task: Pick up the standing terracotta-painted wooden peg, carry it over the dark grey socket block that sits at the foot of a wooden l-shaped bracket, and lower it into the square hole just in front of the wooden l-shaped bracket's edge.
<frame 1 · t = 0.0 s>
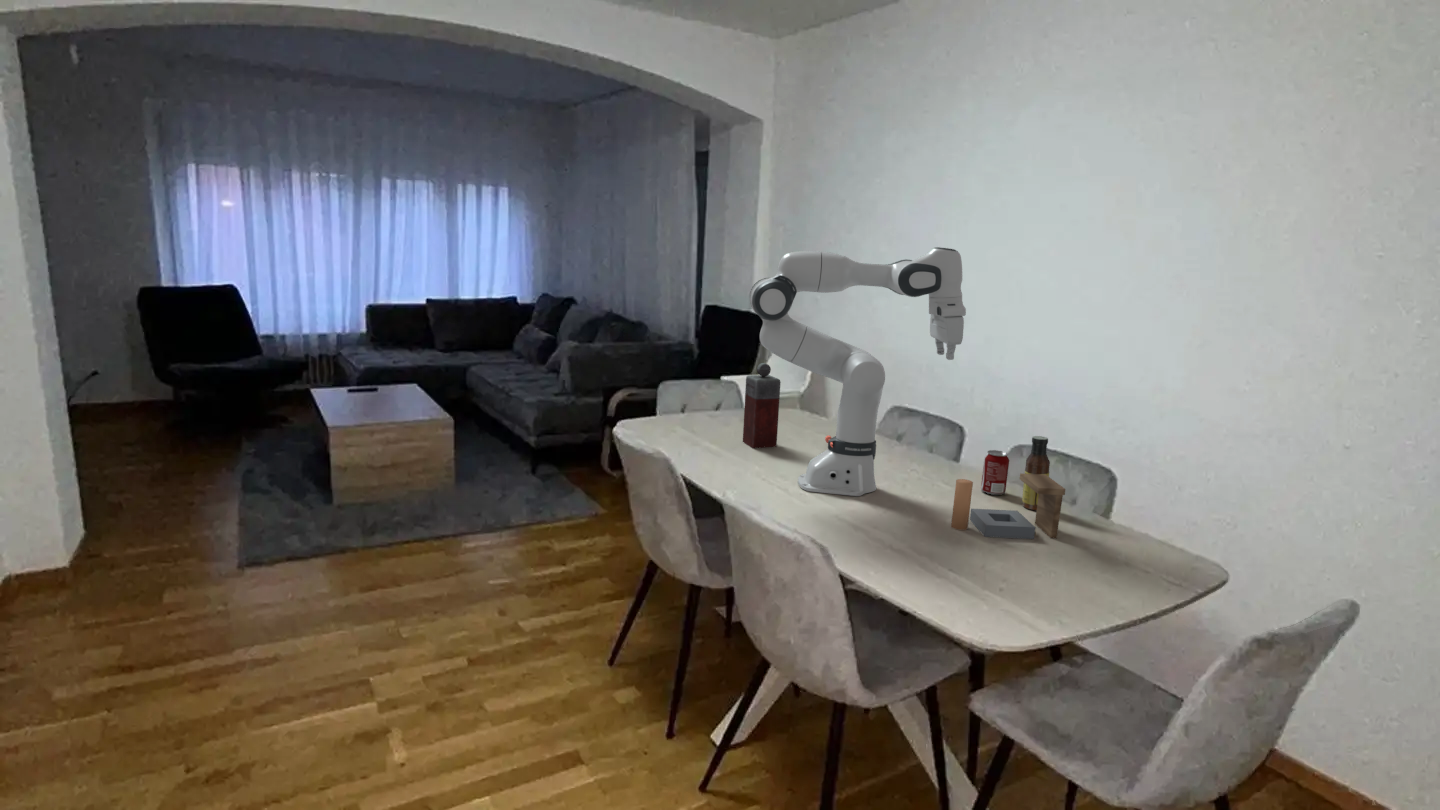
hand: (945, 356, 220), 39 cm above the table, tool pointing down, fingers open, 8 cm apart
red grey knobbed box: (758, 444, 271), on the table
soda can: (992, 493, 228), on the table
peg: (959, 527, 199), on the table
socket: (1000, 528, 199), on the table
sauce bottle: (1032, 508, 216), on the table
wooden l-shaped bracket: (1045, 530, 199), on the table
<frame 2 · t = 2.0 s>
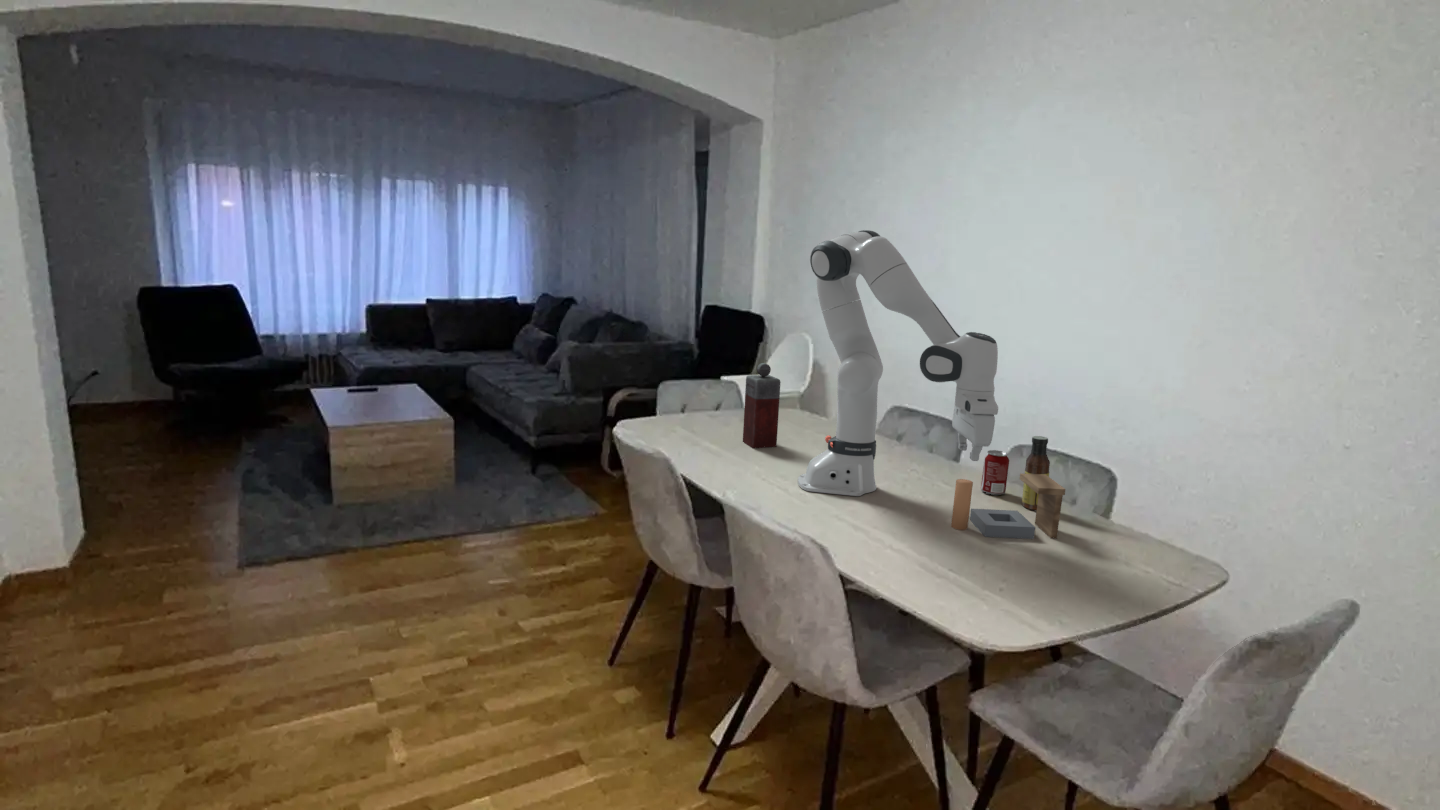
hand: (968, 455, 195), 19 cm above the table, tool pointing down, fingers open, 8 cm apart
nothing on the table moved.
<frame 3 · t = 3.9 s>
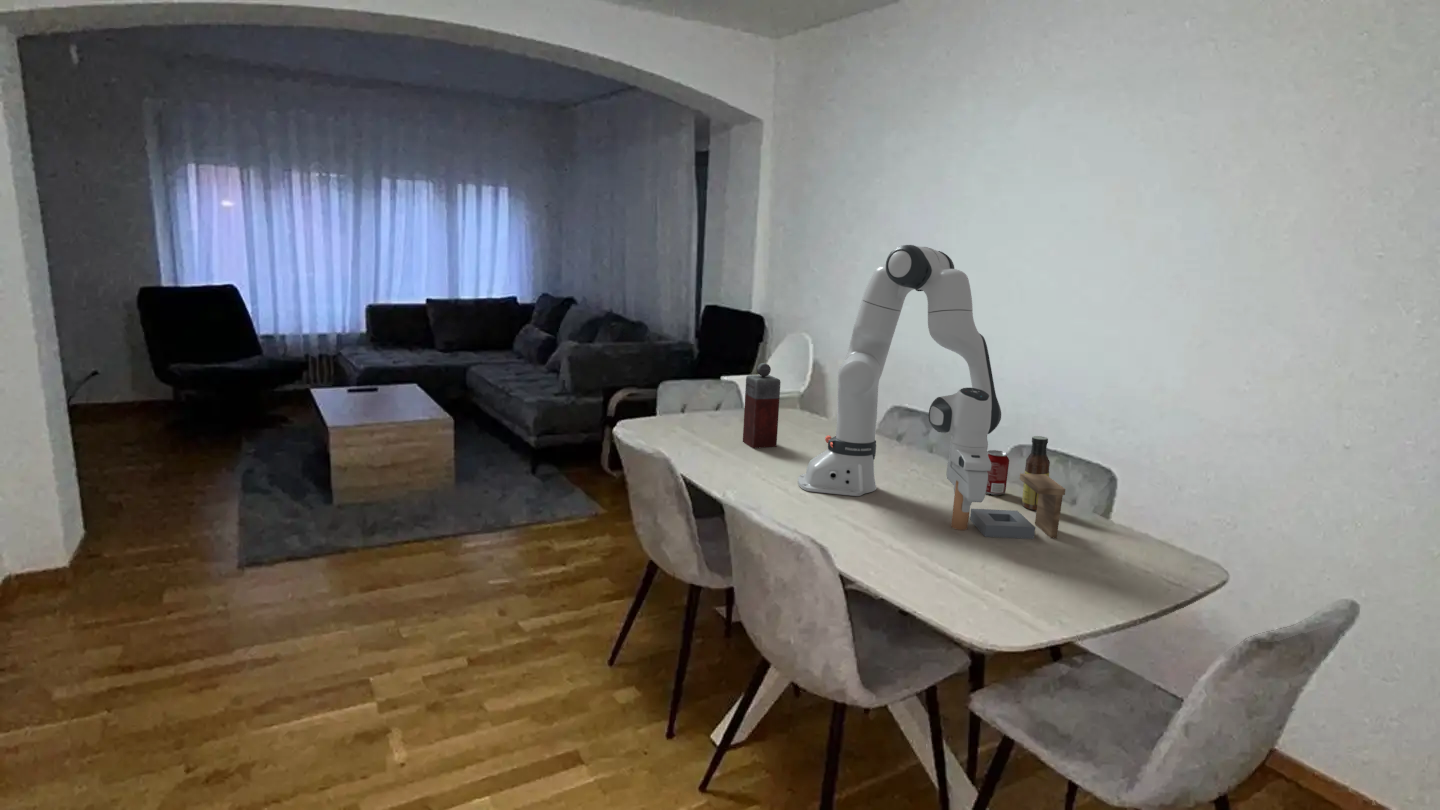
hand: (961, 507, 197), 5 cm above the table, tool pointing down, fingers closed on peg, 4 cm apart
peg: (959, 527, 199), on the table, touching gripper
everything else where it was.
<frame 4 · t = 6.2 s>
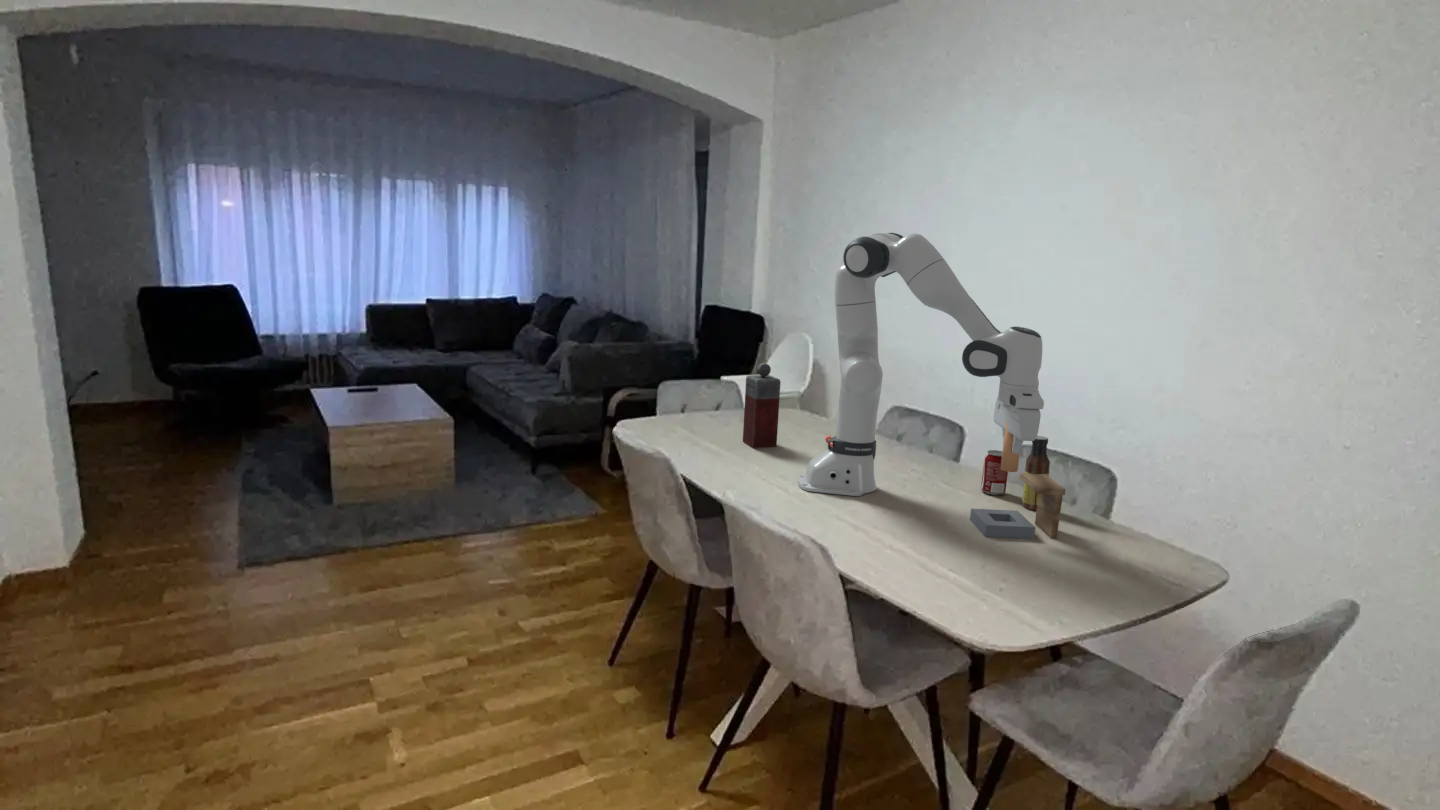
hand: (1011, 449, 194), 21 cm above the table, tool pointing down, fingers closed on peg, 4 cm apart
peg: (1008, 469, 195), point 16 cm above the table, touching gripper
everything else where it was.
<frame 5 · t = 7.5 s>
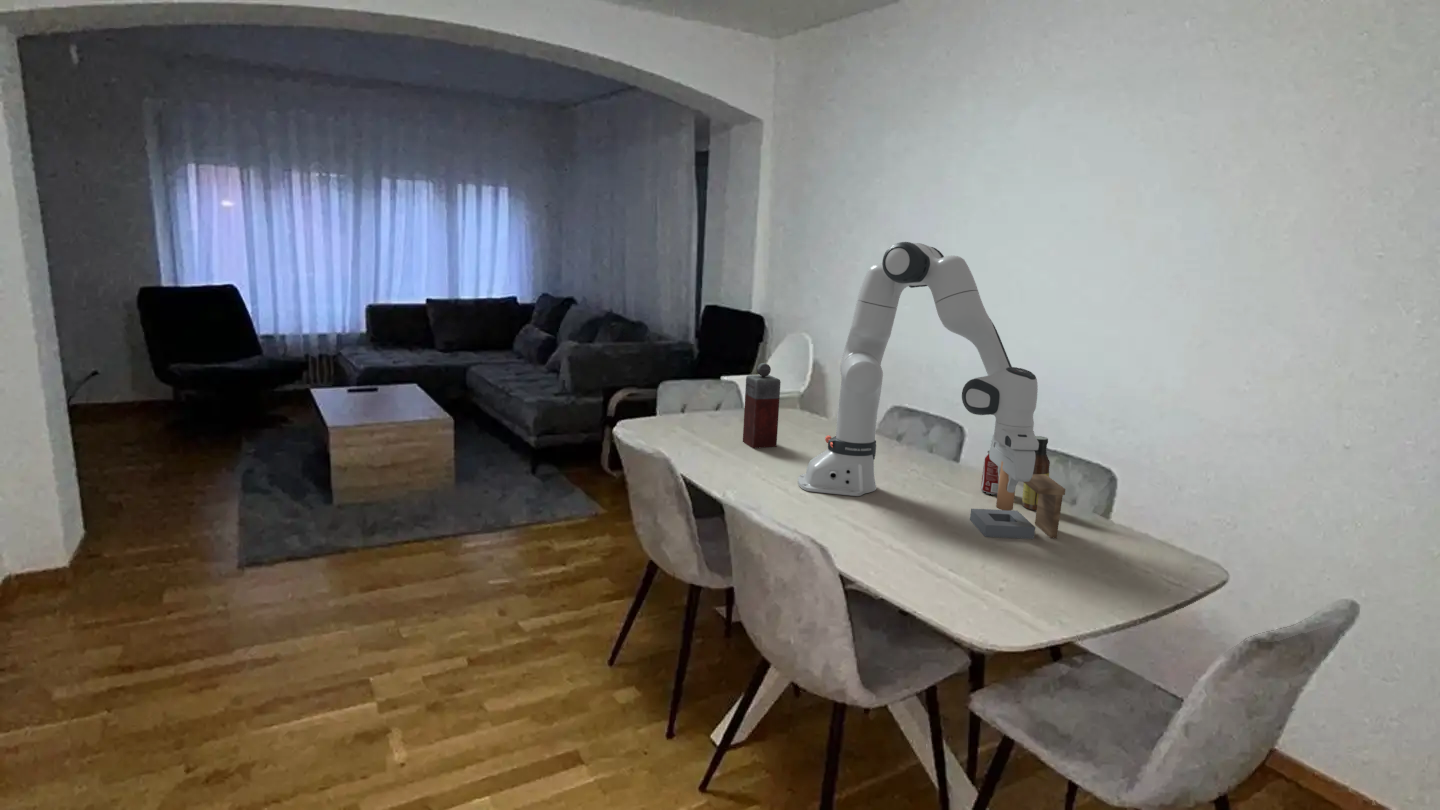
hand: (1006, 488, 196), 11 cm above the table, tool pointing down, fingers closed on peg, 4 cm apart
peg: (1004, 507, 198), point 6 cm above the table, touching gripper
everything else where it was.
when the fingers open (6 cm above the table, at t = 8.7 s): peg stays where it is, resting in socket.
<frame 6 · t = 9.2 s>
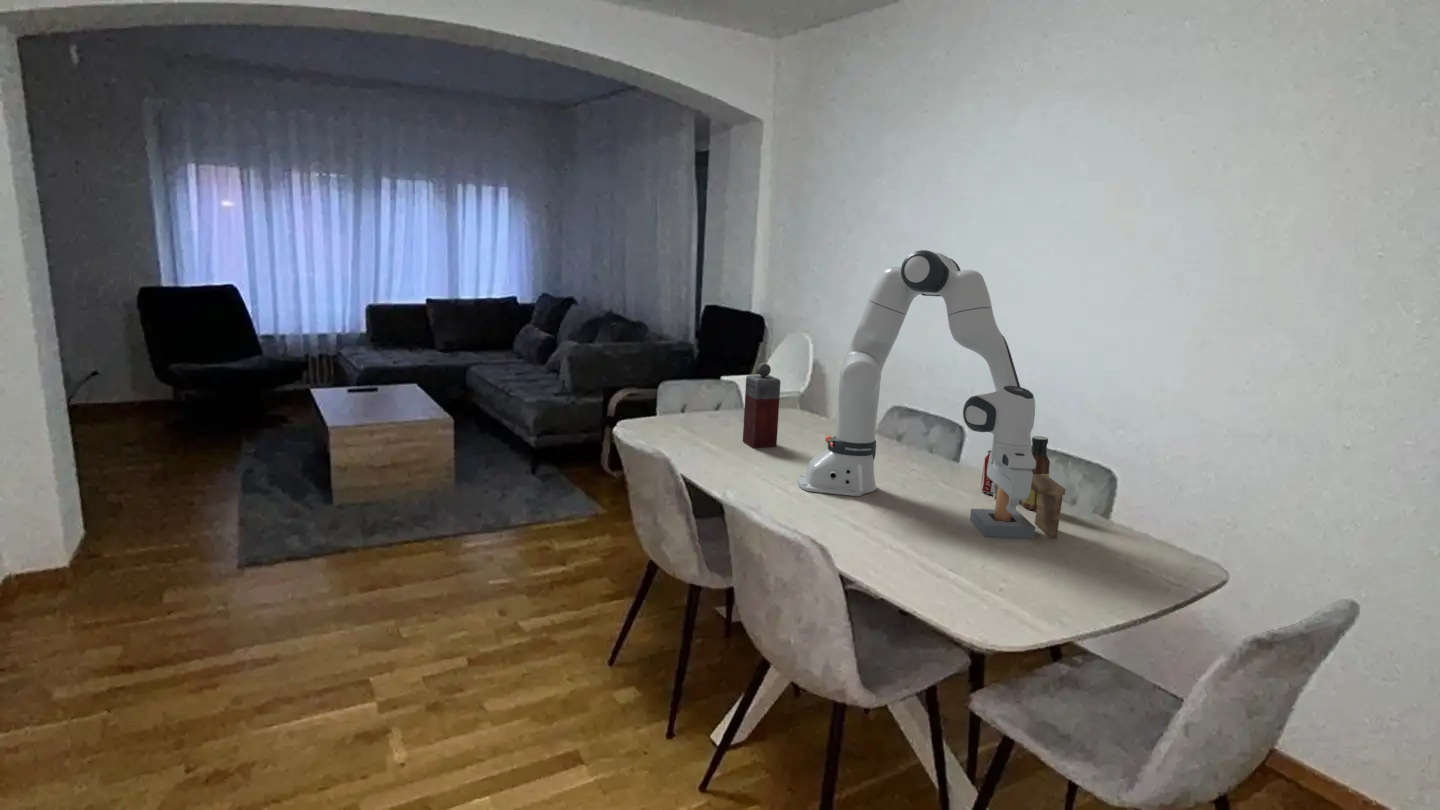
hand: (1003, 505, 197), 6 cm above the table, tool pointing down, fingers open, 8 cm apart
peg: (1001, 528, 199), resting in socket
everything else where it was.
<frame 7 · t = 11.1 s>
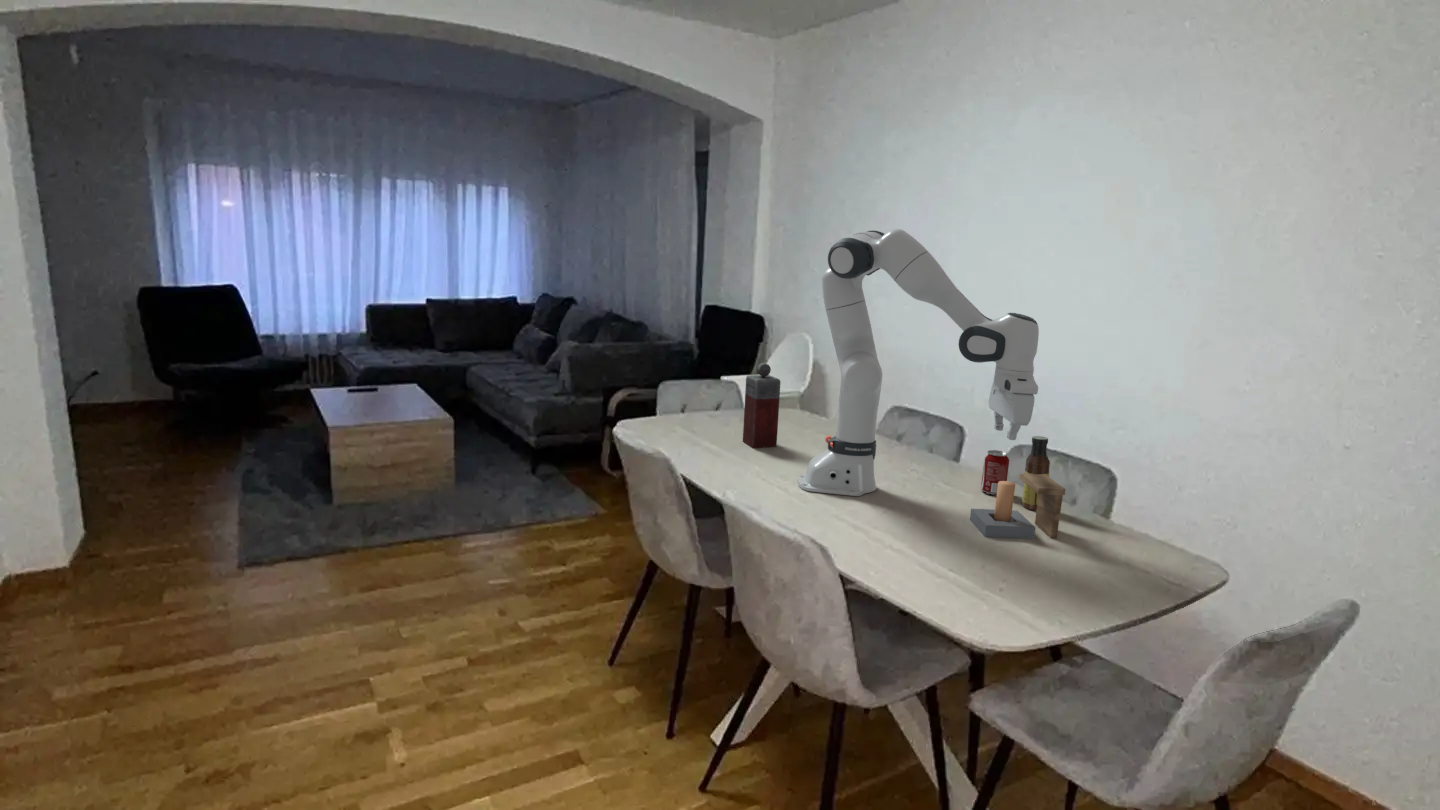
hand: (1004, 434, 197), 24 cm above the table, tool pointing down, fingers open, 8 cm apart
nothing on the table moved.
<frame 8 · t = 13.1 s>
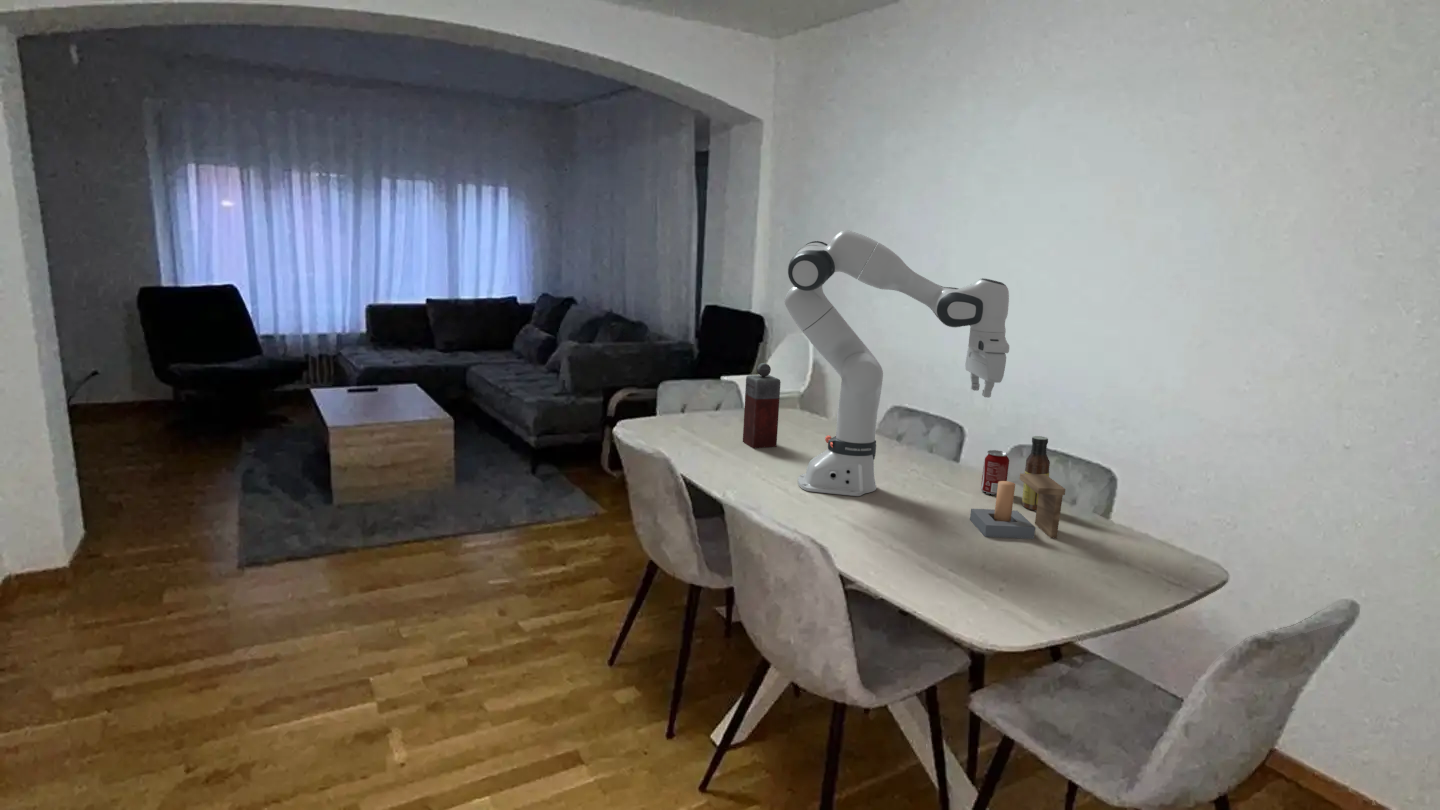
hand: (980, 393, 210), 31 cm above the table, tool pointing down, fingers open, 8 cm apart
nothing on the table moved.
at the end: peg 0.1 cm off-centre on the socket, point 0.0 cm above the socket's base; peg tilted 0°; the gripper is holding nothing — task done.
